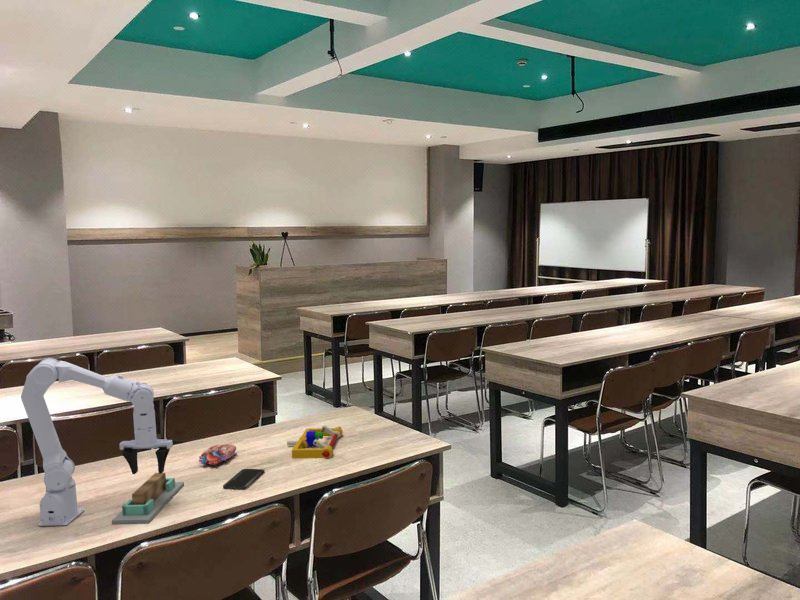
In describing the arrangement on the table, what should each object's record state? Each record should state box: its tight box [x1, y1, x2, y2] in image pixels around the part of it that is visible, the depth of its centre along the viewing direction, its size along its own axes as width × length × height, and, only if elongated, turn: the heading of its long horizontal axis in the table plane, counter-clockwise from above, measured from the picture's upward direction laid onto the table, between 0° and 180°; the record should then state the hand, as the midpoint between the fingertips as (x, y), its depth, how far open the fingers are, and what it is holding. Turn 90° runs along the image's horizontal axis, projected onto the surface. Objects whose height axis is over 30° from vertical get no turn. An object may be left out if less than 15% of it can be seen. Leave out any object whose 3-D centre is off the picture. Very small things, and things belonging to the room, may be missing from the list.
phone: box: [222, 468, 265, 491], centre depth 195 cm, size 8×1×15 cm
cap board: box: [111, 477, 185, 525], centre depth 180 cm, size 26×10×4 cm, turn 179°
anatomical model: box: [198, 443, 237, 466], centre depth 213 cm, size 11×6×15 cm
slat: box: [131, 472, 167, 505], centre depth 180 cm, size 16×3×5 cm, turn 179°
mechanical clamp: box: [286, 425, 343, 459], centre depth 227 cm, size 18×6×30 cm
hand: (148, 472), depth 179 cm, fingers open, 7 cm apart
